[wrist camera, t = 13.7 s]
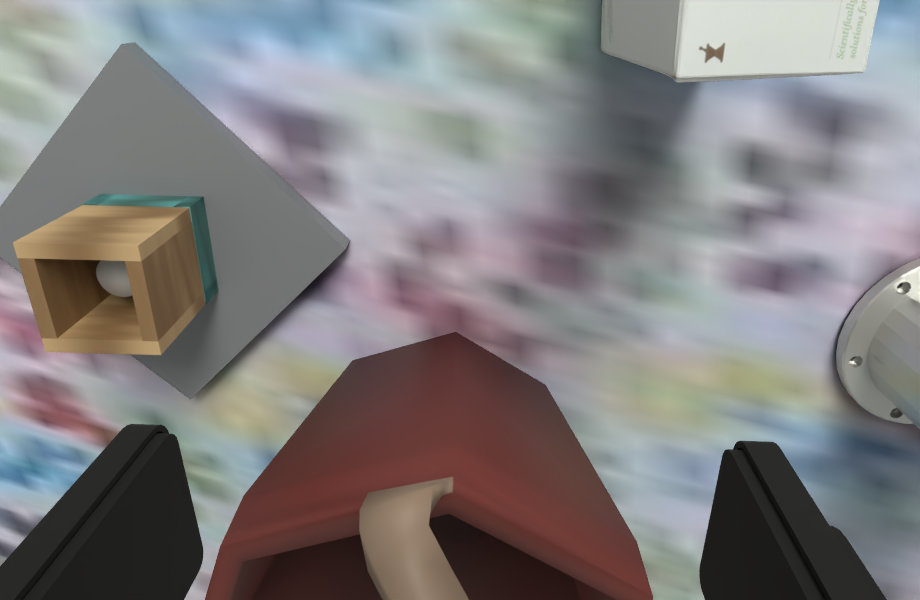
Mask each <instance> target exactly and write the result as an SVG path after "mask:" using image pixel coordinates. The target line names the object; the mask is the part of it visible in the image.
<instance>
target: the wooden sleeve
mask: <svg viewBox="0 0 920 600" xmlns="http://www.w3.org/2000/svg"><path fill="white" fill-rule="evenodd" d="M13 245H14V249H15V252H16V255H17V258H18V262H19V265H20V268H21V272H22V275H23V278H24V282H25V285H26V288H27V292H28V295H29V298H30V302H31V305H32V308H33V312H34V315H35V318H36V322H37V325H38V328H39V332H40V335H41V338H42V342H43V345H44V348H45V351H46V352H68V353H105V354H141V355H162V354H163V352H164V351H165V350H166V349H167V348H168V347H169V346H170V344H171V343H172V342H173V341H174V340H175V339H176V338H177V336H178V335H179V334H180V333H181V332H182V331H183V330H184V328H185V327H186V326H187V325H188V324H189V323H190V321H191V320H192V319H193V318H194V317H195V316H196V315H197V313H198V312H199V311H200V310H201V309H202V308H203V307H204V305H207V304H208V303H209V302H210V300H211V299H212V298H213V297H214V296H215V295H216V294H217V292H218V291H219V290H218V284H217V277H216V271H215V265H214V258H213V252H212V246H211V240H210V233H209V227H208V221H207V214H206V208H205V202H204V197H196V196H155V195H115V194H100V195H98V196H96V197H94V198H92V199H90V200H89V201H87V202H85V203H83V204H82V206H80V207H78V208H76V209H74V210H73V211H71V212H69V213H67V214H65V215H63V216H61V217H59V218H58V219H56V220H54V221H52V222H50V223H48V224H46V225H44V226H43V227H41V228H39V229H37V230H35V231H33V232H31V233H30V234H28V235H26V236H24V237H22V238H20V239H18V240H16V241H15V242H13ZM101 260H109V261H125V264H126V269H127V273H128V278H129V282H130V287H131V291H132V296H129V297H119V296H115V295H113V294H111V293H109V292H108V291H106V290H105V289H104V288H103V287H102V286H101V284H100V283H99V281H98V279H97V275H96V268H97V265H98V263H99V262H100V261H101Z"/></svg>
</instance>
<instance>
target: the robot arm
mask: <svg viewBox="0 0 920 600" xmlns="http://www.w3.org/2000/svg"><path fill="white" fill-rule="evenodd" d="M836 363H837V370H838V374H839V377H840V380H841V382H842V384H843V386H844V387H845V389H846V390H847V392H848V393H849V394H850V395H851V397H852V398H853V399H854V400H855V401H856V402H857V403H858V404H859V405H860V406H861V407H863V408H864V409H865V410H867V411H868V412H870V413H871V414H873V415H875V416H877V417H880V418H882V419H884V420H887V421H892V422H897V423H901V424H914V425H915V426H917V427H918V428H919V429H920V258H918V259H916V260H914V261H911V262H909V263H907V264H905V265H903V266H901V267H899V268H898V269H896V270H895V271H893V272H891V273H890V274H888V275H887V276H885V277H884V278H883V279H881V280H880V281H879V282H878V283H877V284H875V285H874V286H873V287H872V288H871V289H870V290H868V291H867V293H866V294H865V295H864V296H863V297H862V298H861V299H860V301H859V302H858V303H857V304H856V305H855V307H854V308H853V310H852V311H851V313H850V315H849V316H848V318H847V319H846V321H845V323H844V326H843V328H842V331H841V333H840V336H839V339H838V345H837V351H836ZM202 560H203V545H202V541H201V537H200V533H199V528H198V524H197V520H196V516H195V511H194V507H193V503H192V499H191V494H190V490H189V486H188V482H187V477H186V473H185V469H184V465H183V461H182V456H181V452H180V448H179V444H178V440H177V437H176V436H175V435H174V434H169V432H168V430H167V429H166V427H165V426H162V425H143V424H130V425H127V426H126V427H124V428H123V429H122V430H121V431H120V432H119V433H118V435H117V436H116V437H115V438H114V439H113V440H112V441H111V442H110V444H109V445H108V446H107V447H106V448H105V449H104V450H103V451H102V453H101V454H100V455H99V456H98V457H97V458H96V459H95V460H94V462H93V463H92V464H91V465H90V466H89V467H88V468H87V469H86V471H85V472H84V473H83V474H82V475H81V476H80V477H79V478H78V480H77V481H76V482H75V483H74V484H73V485H72V486H71V487H70V489H69V490H68V491H67V492H66V493H65V494H64V495H63V496H62V498H61V499H60V500H59V501H58V502H57V503H56V504H55V505H54V507H53V508H52V509H51V510H50V511H49V512H48V513H47V514H46V516H45V517H44V518H43V519H42V520H41V521H40V522H39V523H38V525H37V526H36V527H35V528H34V529H33V530H32V531H31V532H30V534H29V535H28V536H27V537H26V538H25V539H24V540H23V541H22V543H21V544H20V545H19V546H18V547H17V548H16V549H15V550H14V552H13V553H12V554H11V555H10V556H9V557H8V558H7V559H6V561H5V562H4V563H3V564H2V565H1V566H0V600H184V598H185V597H186V595H187V593H188V591H189V589H190V587H191V585H192V583H193V581H194V580H195V578H196V576H197V574H198V572H199V570H200V567H201V564H202ZM700 584H701V588H702V592H703V595H704V598H705V600H886V598H885V597H884V595H883V594H882V592H881V590H880V589H879V587H878V586H877V584H876V583H875V581H874V580H873V578H872V577H871V575H870V574H869V572H868V571H867V569H866V567H865V566H864V564H863V563H862V561H861V560H860V558H859V557H858V555H857V554H856V552H855V551H854V549H853V548H852V546H851V544H850V543H849V541H848V540H847V538H846V537H845V536H844V535H843V534H842V532H841V531H840V530H838V529H837V528H835V527H833V526H829V524H828V523H827V521H826V520H825V518H824V517H823V515H822V513H821V512H820V510H819V509H818V507H817V506H816V504H815V502H814V501H813V499H812V498H811V496H810V495H809V493H808V491H807V490H806V488H805V487H804V485H803V484H802V482H801V480H800V479H799V477H798V476H797V474H796V472H795V471H794V469H793V468H792V466H791V465H790V463H789V461H788V460H787V458H786V457H785V455H784V454H783V452H782V450H781V449H780V447H779V446H778V445H777V444H776V443H774V442H757V441H739V442H737V443H736V444H735V446H734V449H733V450H725V451H724V453H723V456H722V461H721V466H720V470H719V475H718V480H717V485H716V490H715V495H714V500H713V505H712V510H711V515H710V519H709V524H708V529H707V534H706V539H705V544H704V549H703V554H702V559H701V564H700Z"/></svg>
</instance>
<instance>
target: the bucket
mask: <svg viewBox="0 0 920 600" xmlns="http://www.w3.org/2000/svg"><path fill="white" fill-rule="evenodd" d="M205 600H653V595H652V592H651V588H650V585H649V582H648V578H647V575H646V572H645V568H644V565H643V561H642V558H641V555H640V551H639V548H638V544H637V541H636V540H635V538H634V536H633V535H632V533H631V531H630V529H629V528H628V526H627V524H626V523H625V521H624V519H623V517H622V516H621V514H620V512H619V511H618V509H617V507H616V505H615V504H614V502H613V500H612V498H611V497H610V495H609V493H608V492H607V490H606V488H605V486H604V485H603V483H602V481H601V480H600V478H599V476H598V474H597V473H596V471H595V469H594V468H593V466H592V464H591V462H590V461H589V459H588V457H587V456H586V454H585V452H584V450H583V449H582V447H581V445H580V443H579V442H578V440H577V438H576V437H575V435H574V433H573V431H572V430H571V428H570V426H569V425H568V423H567V421H566V419H565V418H564V416H563V414H562V413H561V411H560V409H559V407H558V406H557V404H556V402H555V400H554V399H553V397H552V395H551V394H550V392H549V390H548V388H547V387H546V385H545V384H543V383H541V382H540V381H538V380H536V379H534V378H533V377H531V376H529V375H528V374H526V373H524V372H523V371H521V370H519V369H518V368H516V367H514V366H512V365H511V364H509V363H507V362H506V361H504V360H502V359H501V358H499V357H497V356H496V355H494V354H492V353H490V352H489V351H487V350H485V349H484V348H482V347H480V346H479V345H477V344H475V343H474V342H472V341H470V340H468V339H467V338H465V337H463V336H462V335H460V334H458V333H457V332H454V333H450V334H447V335H443V336H440V337H436V338H432V339H429V340H425V341H421V342H418V343H414V344H411V345H407V346H403V347H400V348H396V349H393V350H389V351H385V352H382V353H378V354H374V355H371V356H367V357H364V358H360V359H356V360H353V361H352V362H351V363H350V364H349V366H348V367H347V368H346V369H345V371H344V372H343V373H342V374H341V376H340V377H339V378H338V379H337V381H336V382H335V383H334V384H333V385H332V387H331V388H330V389H329V390H328V392H327V393H326V394H325V395H324V397H323V398H322V399H321V400H320V402H319V403H318V404H317V405H316V407H315V408H314V409H313V410H312V412H311V413H310V414H309V415H308V417H307V418H306V419H305V420H304V422H303V423H302V424H301V425H300V426H299V428H298V429H297V430H296V431H295V433H294V434H293V435H292V436H291V438H290V439H289V440H288V441H287V443H286V444H285V445H284V446H283V448H282V449H281V450H280V451H279V453H278V454H277V455H276V456H275V458H274V459H273V460H272V461H271V462H270V464H269V465H268V466H267V467H266V469H265V470H264V471H263V472H262V474H261V475H260V476H259V477H258V479H257V480H256V481H255V482H254V484H253V485H252V486H251V487H250V489H249V490H248V491H247V492H246V494H245V495H244V496H243V499H242V501H241V503H240V505H239V507H238V509H237V512H236V514H235V516H234V518H233V520H232V522H231V524H230V527H229V529H228V531H227V533H226V535H225V537H224V540H223V542H222V544H221V546H220V549H219V553H218V556H217V560H216V563H215V566H214V570H213V573H212V577H211V580H210V584H209V587H208V591H207V594H206V598H205Z"/></svg>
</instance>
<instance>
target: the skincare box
mask: <svg viewBox="0 0 920 600" xmlns="http://www.w3.org/2000/svg"><path fill="white" fill-rule="evenodd" d="M879 1H880V0H602V19H601V51H602V52H604V53H605V54H608V55H611V56H614V57H618V58H621V59H623V60H626V61H629V62H632V63H634V64H637V65H640V66H643V67H646V68H648V69H651V70H654V71H657V72H660V73H663V74H665V75H667V76H669V77H671V78H673V79H674V81H675V82H677V83H683V82H707V81H729V80H747V79H765V78H783V77H802V76H820V75H838V74H851V73H863V72H864V71H865V68H866V64H867V58H868V53H869V48H870V43H871V38H872V33H873V28H874V24H875V19H876V14H877V10H878V5H879Z"/></svg>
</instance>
